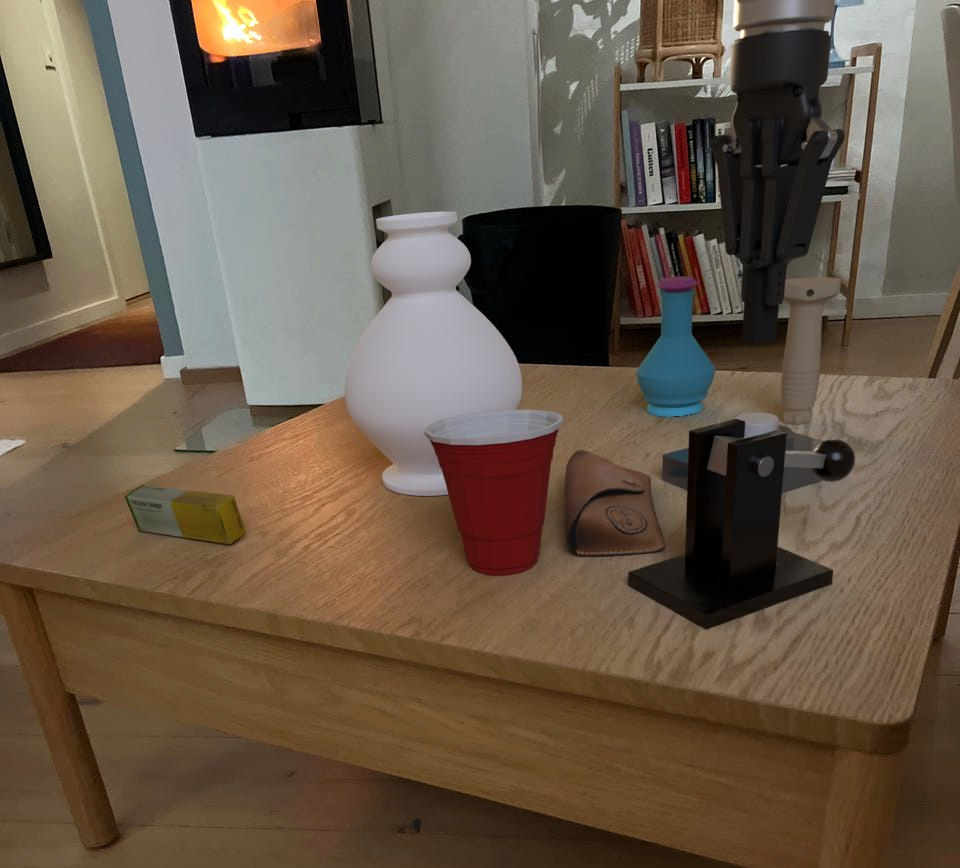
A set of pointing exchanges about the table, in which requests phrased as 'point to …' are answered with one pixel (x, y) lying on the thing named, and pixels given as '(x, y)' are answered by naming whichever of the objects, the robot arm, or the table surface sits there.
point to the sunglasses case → (609, 508)
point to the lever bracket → (731, 535)
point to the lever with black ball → (797, 458)
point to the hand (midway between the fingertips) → (758, 341)
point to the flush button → (758, 423)
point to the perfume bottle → (676, 356)
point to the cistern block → (793, 476)
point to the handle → (804, 345)
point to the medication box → (186, 513)
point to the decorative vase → (424, 352)
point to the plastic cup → (497, 483)
